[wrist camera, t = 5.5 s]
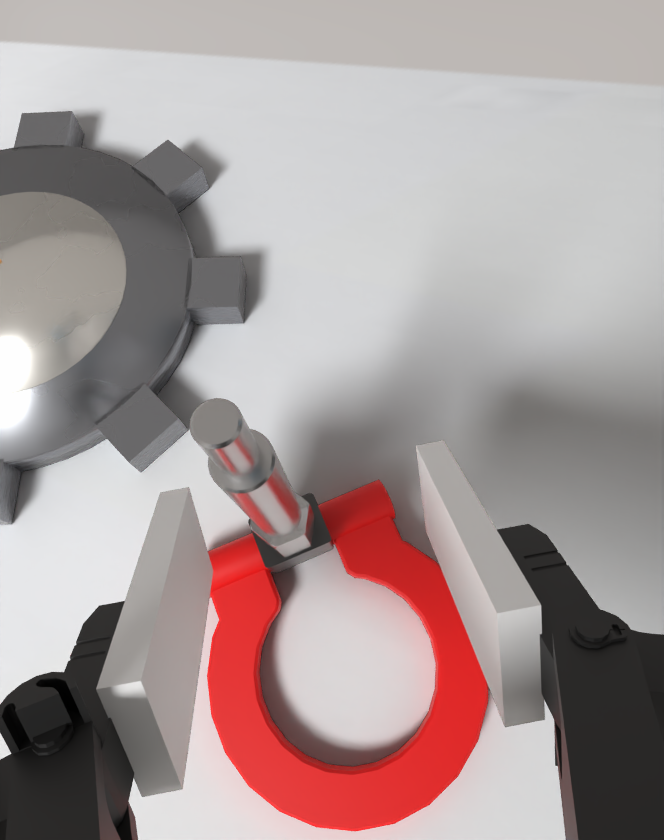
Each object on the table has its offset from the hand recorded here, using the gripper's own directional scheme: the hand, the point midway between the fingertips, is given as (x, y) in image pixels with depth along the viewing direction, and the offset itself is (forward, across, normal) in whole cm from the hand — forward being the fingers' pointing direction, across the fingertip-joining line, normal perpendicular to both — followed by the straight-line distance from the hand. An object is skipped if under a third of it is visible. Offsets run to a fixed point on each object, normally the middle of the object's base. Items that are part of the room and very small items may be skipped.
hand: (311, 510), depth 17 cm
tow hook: (+1, 0, -6) cm, 6 cm away
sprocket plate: (+11, -10, +5) cm, 16 cm away
